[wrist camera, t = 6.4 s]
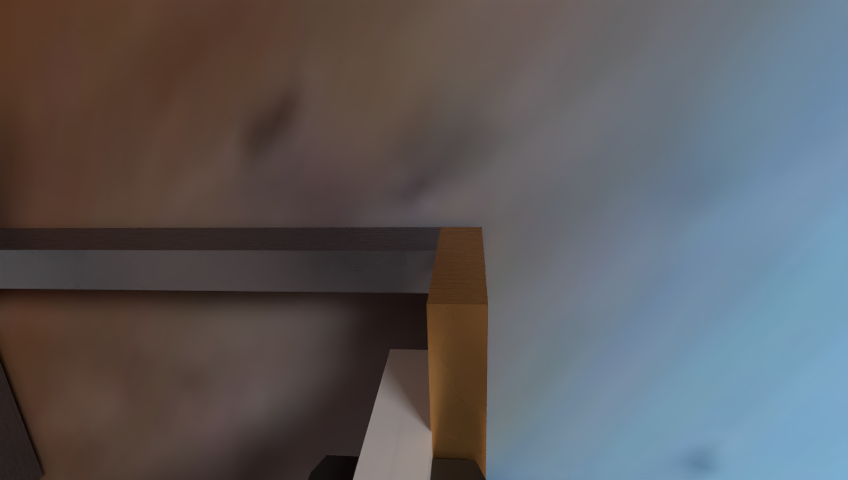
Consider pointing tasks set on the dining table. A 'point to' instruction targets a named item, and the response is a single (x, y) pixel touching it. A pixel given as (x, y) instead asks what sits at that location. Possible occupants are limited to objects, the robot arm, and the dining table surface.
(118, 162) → the dining table surface
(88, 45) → the dining table surface
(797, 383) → the dining table surface
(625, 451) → the dining table surface
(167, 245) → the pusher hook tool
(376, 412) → the robot arm
